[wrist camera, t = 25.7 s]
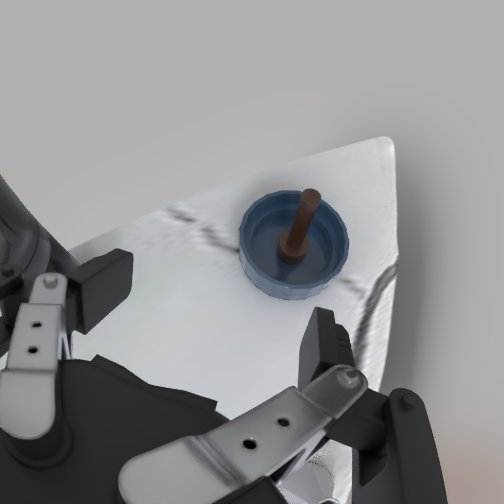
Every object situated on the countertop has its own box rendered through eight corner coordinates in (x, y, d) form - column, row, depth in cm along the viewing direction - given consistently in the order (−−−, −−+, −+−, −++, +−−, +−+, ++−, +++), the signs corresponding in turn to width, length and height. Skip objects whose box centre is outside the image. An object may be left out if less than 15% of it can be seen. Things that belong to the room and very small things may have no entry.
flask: (310, 453, 32) (333, 471, 23) (342, 482, 30) (370, 504, 21) (269, 485, 30) (279, 512, 21) (302, 513, 28) (320, 543, 19)
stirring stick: (273, 260, 44) (288, 206, 31) (280, 235, 46) (296, 176, 33) (302, 268, 44) (328, 217, 31) (307, 242, 45) (332, 186, 33)
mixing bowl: (226, 284, 43) (224, 270, 38) (254, 200, 49) (256, 179, 44) (328, 312, 41) (340, 301, 36) (342, 225, 48) (353, 206, 43)
